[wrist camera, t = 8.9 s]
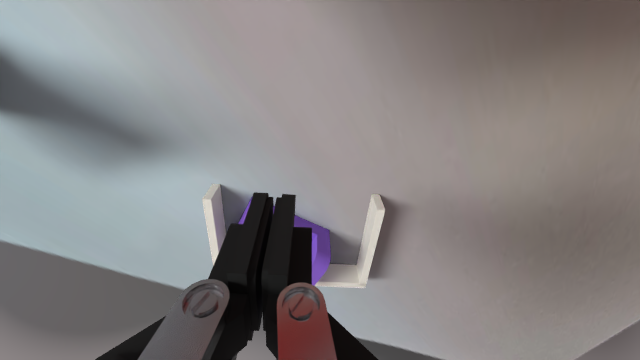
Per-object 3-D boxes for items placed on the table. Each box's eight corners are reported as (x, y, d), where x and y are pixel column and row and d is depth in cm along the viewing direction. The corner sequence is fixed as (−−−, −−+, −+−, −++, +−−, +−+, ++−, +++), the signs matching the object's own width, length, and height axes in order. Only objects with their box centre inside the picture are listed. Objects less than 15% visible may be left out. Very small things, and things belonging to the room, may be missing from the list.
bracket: (328, 228, 39) (331, 265, 33) (306, 258, 41) (305, 296, 36) (252, 195, 35) (240, 228, 30) (234, 229, 38) (219, 266, 32)
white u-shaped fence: (212, 183, 34) (202, 198, 31) (379, 194, 35) (385, 210, 32) (223, 263, 41) (215, 281, 38) (361, 269, 42) (365, 288, 39)
